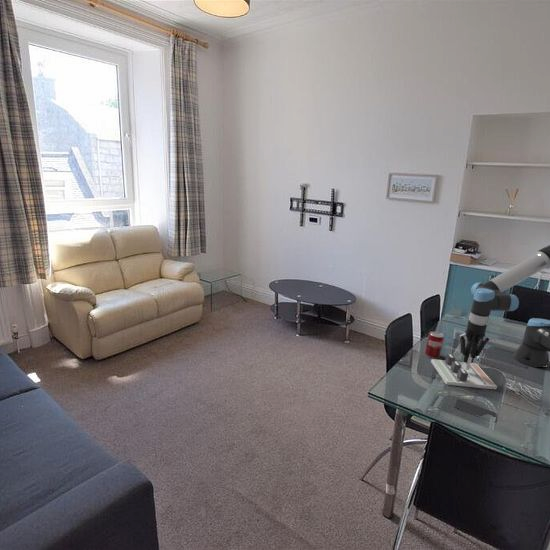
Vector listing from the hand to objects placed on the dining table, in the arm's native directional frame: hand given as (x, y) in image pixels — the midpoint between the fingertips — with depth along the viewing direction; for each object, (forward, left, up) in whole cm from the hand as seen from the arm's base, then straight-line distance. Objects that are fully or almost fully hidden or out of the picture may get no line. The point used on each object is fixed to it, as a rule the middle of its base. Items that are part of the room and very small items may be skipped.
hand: (466, 368), depth 174 cm
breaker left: (+5, -7, -2) cm, 9 cm away
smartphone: (+8, +28, -4) cm, 29 cm away
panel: (+1, 0, -4) cm, 4 cm away
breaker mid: (+5, 0, -2) cm, 5 cm away
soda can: (+9, -17, -4) cm, 20 cm away
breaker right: (+5, +7, -2) cm, 9 cm away
